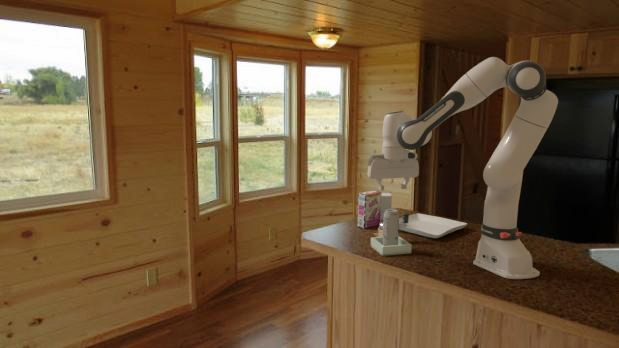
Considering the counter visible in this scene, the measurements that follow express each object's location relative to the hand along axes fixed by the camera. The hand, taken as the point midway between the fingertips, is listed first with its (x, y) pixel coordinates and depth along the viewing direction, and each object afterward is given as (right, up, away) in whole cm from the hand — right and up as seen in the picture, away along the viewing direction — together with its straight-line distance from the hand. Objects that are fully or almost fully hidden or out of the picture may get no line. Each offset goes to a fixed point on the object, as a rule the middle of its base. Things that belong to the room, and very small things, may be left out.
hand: (392, 189), depth 165 cm
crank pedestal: (-2, -22, +18) cm, 28 cm away
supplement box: (+5, -17, +50) cm, 53 cm away
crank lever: (+3, -17, +14) cm, 22 cm away
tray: (0, -24, +4) cm, 24 cm away
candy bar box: (-4, -19, +37) cm, 41 cm away
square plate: (+22, -20, +32) cm, 44 cm away
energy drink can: (0, -23, +5) cm, 24 cm away
